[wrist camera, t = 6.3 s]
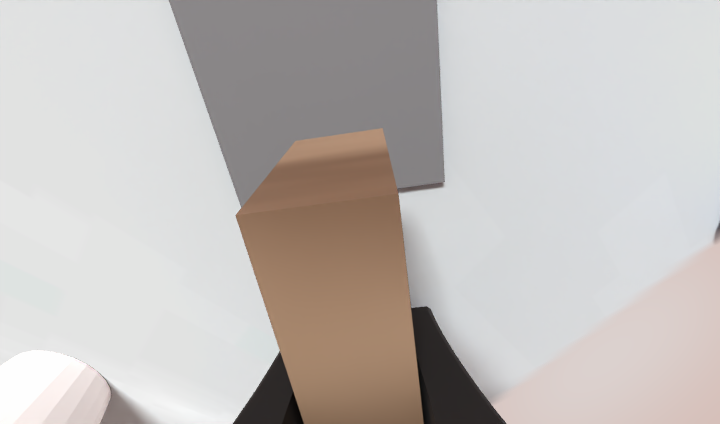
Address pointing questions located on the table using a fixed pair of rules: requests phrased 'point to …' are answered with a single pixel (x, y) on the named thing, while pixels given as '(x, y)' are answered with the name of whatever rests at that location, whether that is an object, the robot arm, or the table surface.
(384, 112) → the mat
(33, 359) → the cup
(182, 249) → the table surface
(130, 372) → the table surface
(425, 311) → the robot arm
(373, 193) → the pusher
